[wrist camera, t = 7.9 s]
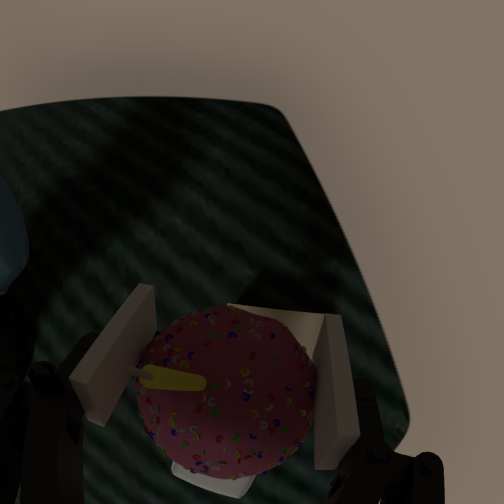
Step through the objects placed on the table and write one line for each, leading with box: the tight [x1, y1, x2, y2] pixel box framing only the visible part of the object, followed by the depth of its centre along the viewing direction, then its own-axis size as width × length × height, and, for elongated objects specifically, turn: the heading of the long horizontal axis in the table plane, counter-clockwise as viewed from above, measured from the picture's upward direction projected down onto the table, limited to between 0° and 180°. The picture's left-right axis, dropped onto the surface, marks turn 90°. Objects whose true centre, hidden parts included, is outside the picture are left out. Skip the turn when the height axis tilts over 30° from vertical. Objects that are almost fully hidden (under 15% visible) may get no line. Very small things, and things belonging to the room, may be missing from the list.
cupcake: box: [128, 305, 317, 481], centre depth 12 cm, size 9×8×12 cm
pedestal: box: [227, 303, 324, 362], centre depth 29 cm, size 10×10×5 cm
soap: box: [171, 461, 256, 498], centre depth 26 cm, size 9×7×3 cm
